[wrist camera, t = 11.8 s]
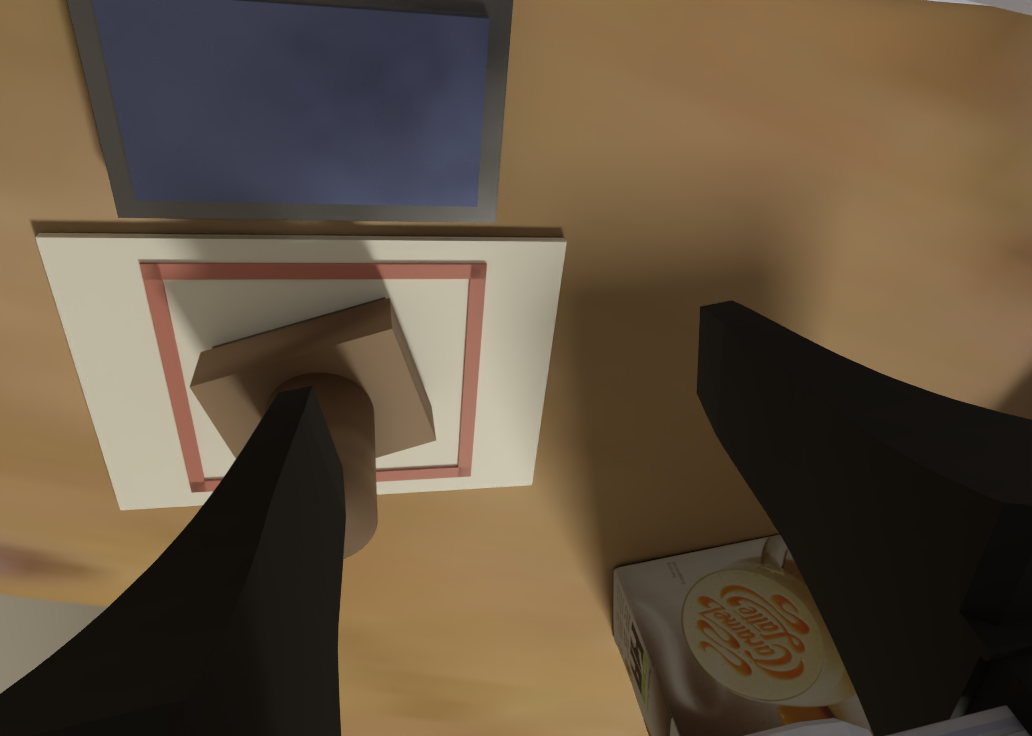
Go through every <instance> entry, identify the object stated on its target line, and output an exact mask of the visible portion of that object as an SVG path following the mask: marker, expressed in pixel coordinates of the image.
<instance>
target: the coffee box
mask: <svg viewBox="0 0 1032 736" xmlns="http://www.w3.org/2000/svg"><path fill="white" fill-rule="evenodd" d="M613 622H614V640H615V643H616V645H617V647H618V649H619V651H620V654H621V656H622V659H623V662H624V664H625V667H626V670H627V672H628V675H629V678H630V680H631V683H632V686H633V689H634V692H635V695H636V698H637V701H638V704H639V707H640V710H641V713H642V716H643V719H644V722H645V725H646V728H647V731H648V734H649V736H745V735H749V734H753V733H757V732H761V731H765V730H769V729H773V728H777V727H781V726H785V725H789V724H793V723H797V722H804V721H813V720H822V719H831V718H835V719H838V720H841V721H844V722H847V723H850V724H853V725H856V726H859V727H862V728H865V729H868V730H869V731H870V733H871V735H872V736H874V735H873V733H872V730H871V728H870V725H869V723H868V720H867V718H866V716H865V713H864V711H863V708H862V706H861V703H860V701H859V698H858V696H857V694H856V691H855V689H854V687H853V685H852V682H851V680H850V678H849V675H848V673H847V671H846V669H845V666H844V664H843V662H842V660H841V657H840V655H839V653H838V651H837V648H836V646H835V644H834V642H833V639H832V637H831V635H830V633H829V631H828V629H827V627H826V625H825V622H824V620H823V618H822V616H821V614H820V612H819V610H818V608H817V606H816V604H815V601H814V599H813V597H812V595H811V593H810V591H809V589H808V587H807V585H806V583H805V581H804V579H803V577H802V575H801V573H800V571H799V569H798V567H797V565H796V563H795V561H794V559H793V557H792V555H791V553H790V551H789V549H788V547H787V546H786V544H785V542H784V541H783V539H782V537H781V535H775V536H770V537H765V538H760V539H755V540H751V541H746V542H741V543H736V544H731V545H726V546H721V547H716V548H712V549H706V550H702V551H696V552H692V553H687V554H682V555H677V556H672V557H667V558H662V559H657V560H652V561H647V562H643V563H638V564H633V565H627V566H622V567H618V568H616V569H615V570H614V583H613Z"/></svg>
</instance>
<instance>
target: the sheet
mask: <svg viewBox="0 0 1032 736" xmlns="http://www.w3.org/2000/svg"><path fill="white" fill-rule="evenodd" d="M35 238H36V241H37V244H38V248H39V251H40V254H41V257H42V260H43V264H44V267H45V270H46V273H47V276H48V280H49V283H50V286H51V289H52V292H53V296H54V299H55V302H56V305H57V309H58V312H59V315H60V318H61V321H62V325H63V328H64V331H65V334H66V337H67V341H68V344H69V347H70V350H71V353H72V357H73V360H74V363H75V366H76V369H77V373H78V376H79V379H80V382H81V386H82V389H83V392H84V395H85V398H86V402H87V405H88V408H89V411H90V414H91V418H92V421H93V424H94V427H95V430H96V434H97V437H98V440H99V443H100V446H101V450H102V453H103V456H104V459H105V463H106V466H107V469H108V472H109V475H110V479H111V482H112V485H113V488H114V491H115V495H116V498H117V501H118V504H119V507H120V510H132V509H148V508H165V507H181V506H197V505H204V503H205V502H206V501H207V499H208V498H209V497H210V495H211V494H212V493H213V491H214V490H215V489H216V487H217V486H218V485H219V483H220V482H221V480H222V479H223V477H224V476H225V475H226V473H227V472H228V470H229V469H230V467H231V466H232V464H233V463H234V461H235V460H236V458H235V457H234V455H233V454H232V452H231V451H230V449H229V448H228V446H227V445H226V443H225V441H224V440H223V438H222V437H221V435H220V434H219V432H218V431H217V429H216V427H215V426H214V424H213V423H212V421H211V420H210V418H209V417H208V415H207V414H206V412H205V410H204V409H203V407H202V406H201V404H200V403H199V401H198V400H197V398H196V396H195V395H194V393H193V392H192V390H191V389H190V384H191V381H192V378H193V374H194V371H195V368H196V365H197V362H198V359H199V355H200V352H203V351H206V350H210V349H212V347H213V346H216V345H220V344H223V343H227V342H230V341H234V340H237V339H241V338H244V337H248V336H251V335H255V334H258V333H262V332H265V331H269V330H272V329H275V328H279V327H282V326H286V325H289V324H293V323H296V322H300V321H303V320H307V319H310V318H314V317H317V316H321V315H324V314H328V313H331V312H335V311H338V310H342V309H345V308H349V307H352V306H355V305H359V304H362V303H366V302H369V301H373V300H376V299H380V298H383V297H385V298H386V299H387V298H390V300H391V302H392V305H393V307H394V310H395V313H396V315H397V318H398V320H399V323H400V326H401V328H402V331H403V333H404V336H405V339H406V341H407V344H408V346H409V349H410V352H411V354H412V357H413V359H414V362H415V364H416V367H417V370H418V372H419V375H420V377H421V380H422V383H423V385H424V388H425V390H426V393H427V396H428V398H429V401H430V403H431V406H432V413H433V420H434V427H435V435H436V441H433V442H429V443H426V444H422V445H419V446H416V447H412V448H409V449H405V450H402V451H398V452H395V453H392V454H388V455H385V456H381V457H378V458H376V486H377V494H393V493H410V492H426V491H443V490H459V489H475V488H492V487H508V486H524V485H532V481H533V474H534V467H535V460H536V453H537V446H538V439H539V432H540V425H541V418H542V411H543V404H544V397H545V390H546V383H547V376H548V369H549V362H550V355H551V348H552V341H553V334H554V327H555V320H556V313H557V306H558V299H559V292H560V285H561V278H562V271H563V264H564V257H565V250H566V244H567V241H566V240H565V238H533V237H428V236H323V235H217V234H112V233H39V234H38V235H37V236H36V237H35Z"/></svg>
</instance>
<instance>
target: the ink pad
mask: <svg viewBox="0 0 1032 736" xmlns="http://www.w3.org/2000/svg"><path fill="white" fill-rule="evenodd" d="M67 3H68V7H69V11H70V15H71V20H72V24H73V28H74V32H75V36H76V41H77V45H78V49H79V53H80V58H81V62H82V66H83V70H84V74H85V79H86V83H87V87H88V91H89V96H90V100H91V104H92V108H93V113H94V117H95V121H96V125H97V129H98V134H99V138H100V142H101V146H102V151H103V155H104V159H105V163H106V167H107V172H108V176H109V180H110V184H111V189H112V193H113V197H114V201H115V205H116V210H117V214H118V218H184V219H257V220H331V221H405V222H478V223H495V219H496V207H497V194H498V182H499V169H500V157H501V145H502V132H503V120H504V107H505V95H506V83H507V70H508V58H509V46H510V33H511V21H512V8H513V0H67Z"/></svg>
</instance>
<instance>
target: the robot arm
mask: <svg viewBox="0 0 1032 736" xmlns="http://www.w3.org/2000/svg"><path fill="white" fill-rule="evenodd" d="M929 1H941V2H952V3H964V4H975V5H987V6H993V7H998V8H1002V9H1006V10H1011V11H1015V12H1019V13H1024V14H1028V15H1032V0H929ZM697 395H698V397H699V399H700V401H701V404H702V406H703V408H704V410H705V413H706V415H707V417H708V419H709V421H710V423H711V425H712V427H713V430H714V432H715V434H716V436H717V437H718V439H719V441H720V442H721V444H722V445H723V447H724V449H725V450H726V452H727V453H728V455H729V456H730V458H731V459H732V461H733V463H734V464H735V466H736V467H737V469H738V470H739V472H740V473H741V475H742V476H743V478H744V480H745V481H746V483H747V484H748V486H749V487H750V489H751V490H752V492H753V493H754V495H755V496H756V498H757V499H758V501H759V502H760V504H761V505H762V507H763V509H764V510H765V512H766V513H767V515H768V516H769V518H770V519H771V521H772V522H773V524H774V525H775V527H776V529H777V530H778V532H779V534H780V535H781V537H782V539H783V541H784V542H785V544H786V546H787V547H788V549H789V551H790V553H791V555H792V557H793V559H794V561H795V563H796V565H797V567H798V569H799V571H800V573H801V575H802V577H803V579H804V581H805V583H806V585H807V587H808V589H809V591H810V593H811V595H812V597H813V599H814V601H815V604H816V606H817V608H818V610H819V612H820V614H821V616H822V618H823V620H824V622H825V625H826V627H827V629H828V631H829V633H830V635H831V637H832V639H833V642H834V644H835V646H836V648H837V651H838V653H839V655H840V657H841V660H842V662H843V664H844V666H845V669H846V671H847V673H848V675H849V678H850V680H851V682H852V685H853V687H854V689H855V691H856V694H857V696H858V698H859V701H860V703H861V706H862V708H863V711H864V713H865V716H866V718H867V720H868V723H869V725H870V728H871V730H872V733H873V735H874V736H1032V420H1030V419H1026V418H1021V417H1017V416H1013V415H1009V414H1005V413H1001V412H997V411H993V410H990V409H986V408H983V407H979V406H976V405H972V404H968V403H965V402H961V401H958V400H955V399H951V398H948V397H945V396H942V395H939V394H936V393H933V392H930V391H927V390H924V389H922V388H919V387H916V386H913V385H910V384H908V383H905V382H902V381H899V380H897V379H894V378H891V377H889V376H886V375H884V374H881V373H879V372H877V371H874V370H872V369H870V368H868V367H865V366H863V365H861V364H858V363H856V362H854V361H852V360H849V359H847V358H845V357H843V356H841V355H839V354H836V353H834V352H832V351H830V350H828V349H826V348H824V347H822V346H820V345H818V344H816V343H814V342H812V341H810V340H808V339H806V338H804V337H802V336H800V335H798V334H796V333H795V332H793V331H791V330H789V329H787V328H785V327H783V326H781V325H779V324H777V323H776V322H774V321H772V320H770V319H768V318H766V317H764V316H762V315H760V314H759V313H757V312H755V311H753V310H751V309H749V308H747V307H745V306H743V305H741V304H739V303H736V302H734V301H732V300H731V301H726V302H722V303H717V304H712V305H707V306H702V307H700V326H699V350H698V375H697ZM345 526H346V507H345V490H344V476H343V467H342V464H341V461H340V459H339V456H338V453H337V451H336V448H335V445H334V442H333V440H332V437H331V434H330V432H329V429H328V426H327V423H326V421H325V418H324V415H323V413H322V410H321V407H320V404H319V402H318V399H317V396H316V394H315V391H314V388H313V386H308V387H303V388H298V389H294V390H289V391H284V392H279V393H278V394H277V395H276V397H275V398H274V400H273V401H272V403H271V404H270V406H269V408H268V409H267V411H266V412H265V414H264V416H263V417H262V419H261V420H260V422H259V424H258V425H257V427H256V429H255V430H254V432H253V433H252V435H251V437H250V438H249V440H248V441H247V443H246V444H245V446H244V448H243V449H242V451H241V452H240V454H239V455H238V457H237V458H236V460H235V461H234V463H233V464H232V466H231V467H230V469H229V470H228V472H227V473H226V475H225V476H224V477H223V479H222V480H221V482H220V483H219V485H218V486H217V487H216V489H215V490H214V491H213V493H212V494H211V495H210V497H209V498H208V499H207V501H206V502H205V503H204V505H203V506H202V507H201V509H200V510H199V511H198V513H197V514H196V515H195V517H194V518H193V519H192V520H191V521H190V523H189V524H188V525H187V526H186V527H185V529H184V530H183V531H182V532H181V533H180V534H179V536H178V537H177V538H176V539H175V540H174V541H173V542H172V543H171V545H170V546H169V547H168V548H167V549H166V550H165V551H164V552H163V553H162V554H161V556H160V557H159V558H158V559H157V560H156V561H155V562H154V563H153V564H152V565H151V566H150V567H149V568H148V569H147V570H146V571H145V572H144V573H143V574H142V575H141V576H140V577H139V578H138V579H137V580H136V581H135V582H134V583H133V584H132V585H131V586H130V587H129V588H128V589H127V590H125V591H124V592H123V593H122V594H121V595H120V596H119V597H118V598H117V599H116V600H115V601H114V602H113V603H112V604H111V605H110V606H109V607H108V608H107V609H106V610H105V611H103V613H101V614H100V615H99V616H98V617H97V618H95V619H94V620H93V621H92V622H91V623H90V624H89V625H87V626H86V627H85V628H84V629H83V630H82V631H81V632H79V633H78V634H77V635H76V636H75V637H73V638H72V639H71V640H70V641H68V642H67V643H66V644H65V645H64V646H62V647H61V648H60V649H59V650H58V651H56V652H55V653H54V654H53V655H51V656H50V657H49V658H48V659H46V660H45V661H44V662H42V663H41V664H40V665H39V666H37V667H36V668H35V669H34V670H32V671H31V672H29V673H28V674H27V675H25V676H24V677H23V678H21V679H20V680H19V681H17V682H16V683H14V684H13V685H12V686H10V687H9V688H8V689H6V690H5V691H4V692H3V693H1V694H0V736H341V723H340V703H339V675H338V623H339V610H340V596H341V583H342V569H343V556H344V541H345ZM745 736H872V735H871V733H870V731H869V730H868V729H865V728H862V727H859V726H856V725H853V724H850V723H847V722H844V721H841V720H838V719H835V718H831V719H822V720H813V721H804V722H797V723H793V724H789V725H785V726H781V727H777V728H773V729H769V730H765V731H761V732H757V733H753V734H749V735H745Z"/></svg>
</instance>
